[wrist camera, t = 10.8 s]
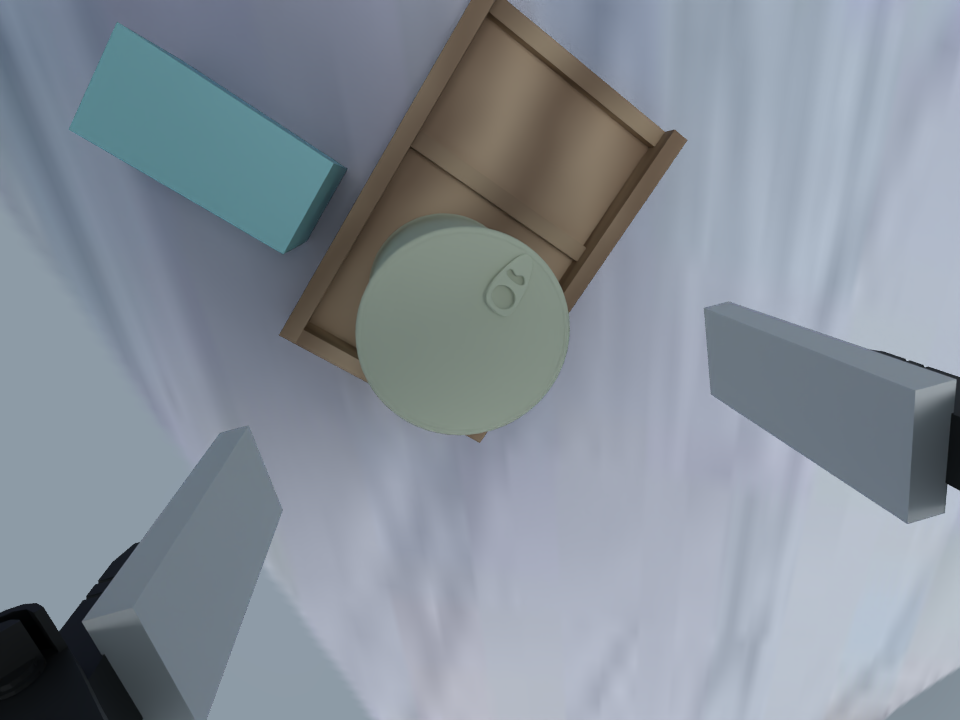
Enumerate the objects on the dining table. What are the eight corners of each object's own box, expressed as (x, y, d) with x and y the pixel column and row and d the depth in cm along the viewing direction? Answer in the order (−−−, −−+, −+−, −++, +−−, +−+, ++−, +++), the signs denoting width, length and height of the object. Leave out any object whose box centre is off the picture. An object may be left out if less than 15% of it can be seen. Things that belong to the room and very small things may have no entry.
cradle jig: (289, 322, 34) (278, 335, 31) (478, -6, 30) (486, -28, 27) (473, 422, 38) (479, 442, 35) (661, 144, 34) (687, 140, 31)
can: (545, 274, 34) (618, 316, 23) (458, 386, 35) (485, 478, 24) (428, 180, 31) (444, 174, 20) (339, 305, 33) (306, 365, 21)
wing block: (142, 142, 30) (68, 129, 23) (181, 60, 29) (117, 21, 22) (306, 241, 33) (283, 254, 26) (347, 168, 32) (333, 163, 25)
